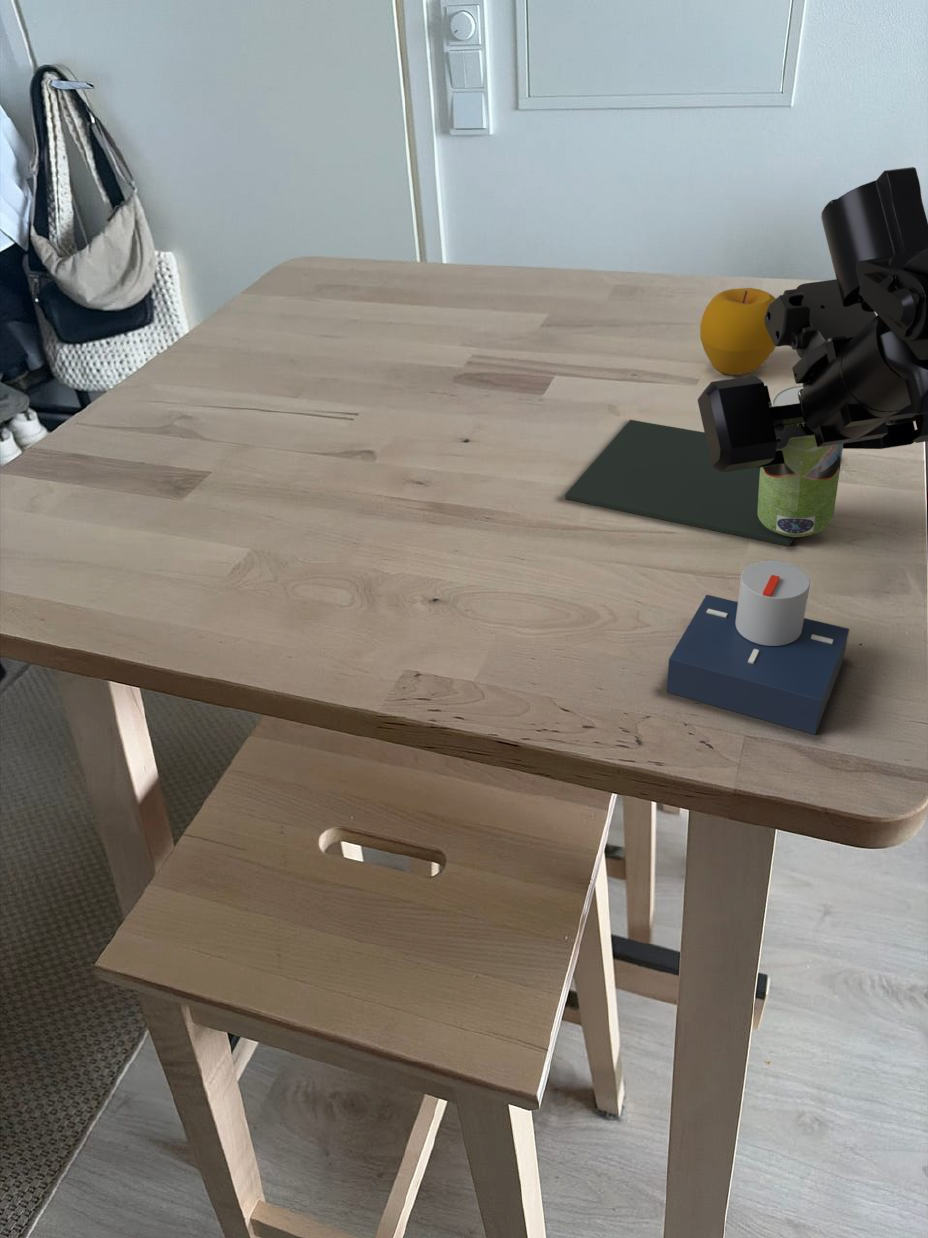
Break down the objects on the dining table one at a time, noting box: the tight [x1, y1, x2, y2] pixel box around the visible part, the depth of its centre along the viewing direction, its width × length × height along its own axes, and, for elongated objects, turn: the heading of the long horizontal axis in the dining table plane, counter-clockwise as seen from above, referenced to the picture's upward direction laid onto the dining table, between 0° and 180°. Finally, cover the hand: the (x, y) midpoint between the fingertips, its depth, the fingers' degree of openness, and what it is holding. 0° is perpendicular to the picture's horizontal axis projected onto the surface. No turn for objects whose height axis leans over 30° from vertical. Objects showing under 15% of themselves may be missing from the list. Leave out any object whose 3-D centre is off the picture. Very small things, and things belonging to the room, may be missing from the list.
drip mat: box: [564, 419, 795, 547], centre depth 91 cm, size 20×16×1 cm
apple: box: [699, 287, 777, 376], centre depth 106 cm, size 9×8×9 cm
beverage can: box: [757, 384, 843, 538], centre depth 79 cm, size 6×7×12 cm
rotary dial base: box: [666, 594, 850, 735], centre depth 69 cm, size 10×10×3 cm
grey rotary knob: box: [735, 560, 811, 646], centre depth 67 cm, size 4×4×4 cm
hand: (786, 447), depth 80 cm, fingers open, 6 cm apart
